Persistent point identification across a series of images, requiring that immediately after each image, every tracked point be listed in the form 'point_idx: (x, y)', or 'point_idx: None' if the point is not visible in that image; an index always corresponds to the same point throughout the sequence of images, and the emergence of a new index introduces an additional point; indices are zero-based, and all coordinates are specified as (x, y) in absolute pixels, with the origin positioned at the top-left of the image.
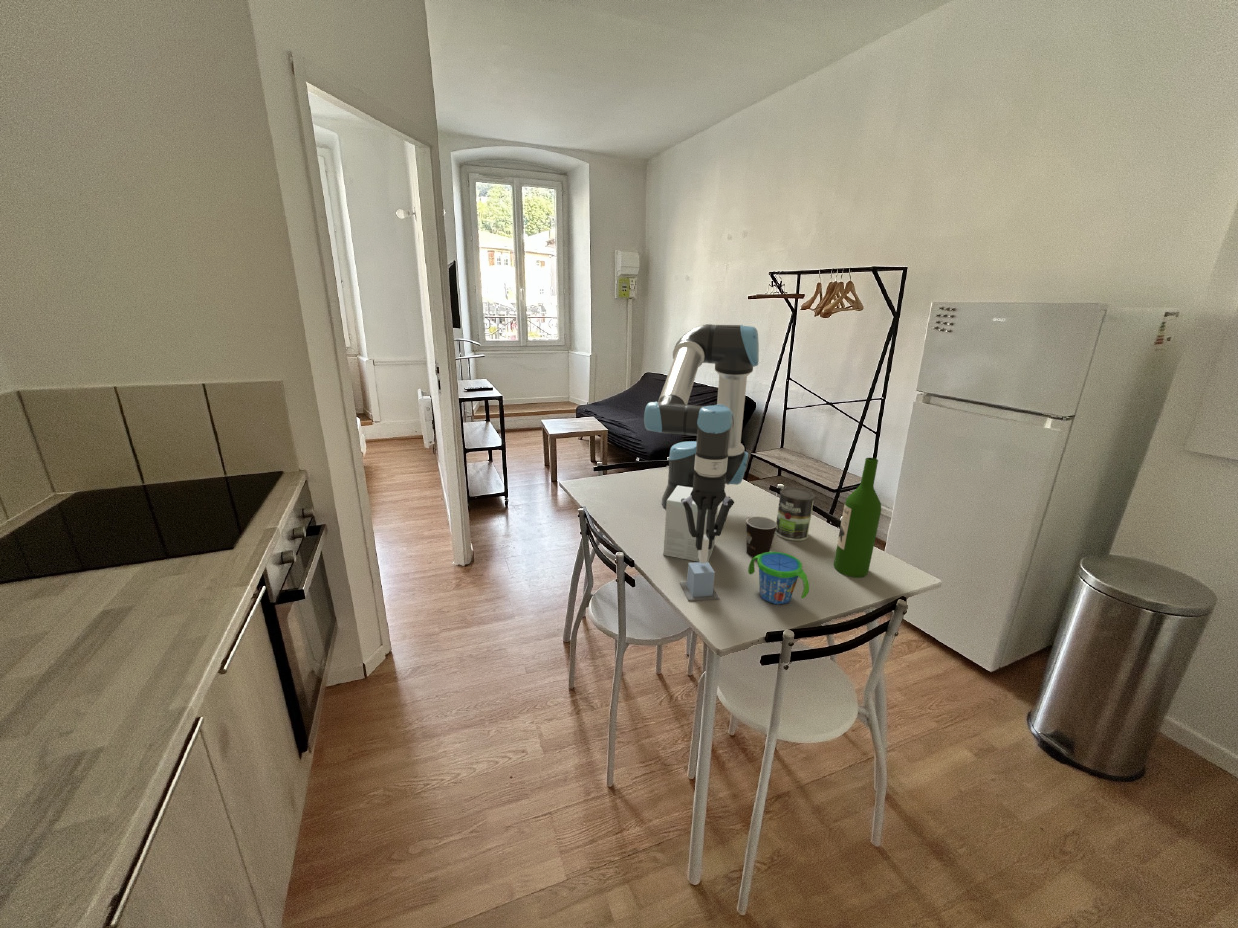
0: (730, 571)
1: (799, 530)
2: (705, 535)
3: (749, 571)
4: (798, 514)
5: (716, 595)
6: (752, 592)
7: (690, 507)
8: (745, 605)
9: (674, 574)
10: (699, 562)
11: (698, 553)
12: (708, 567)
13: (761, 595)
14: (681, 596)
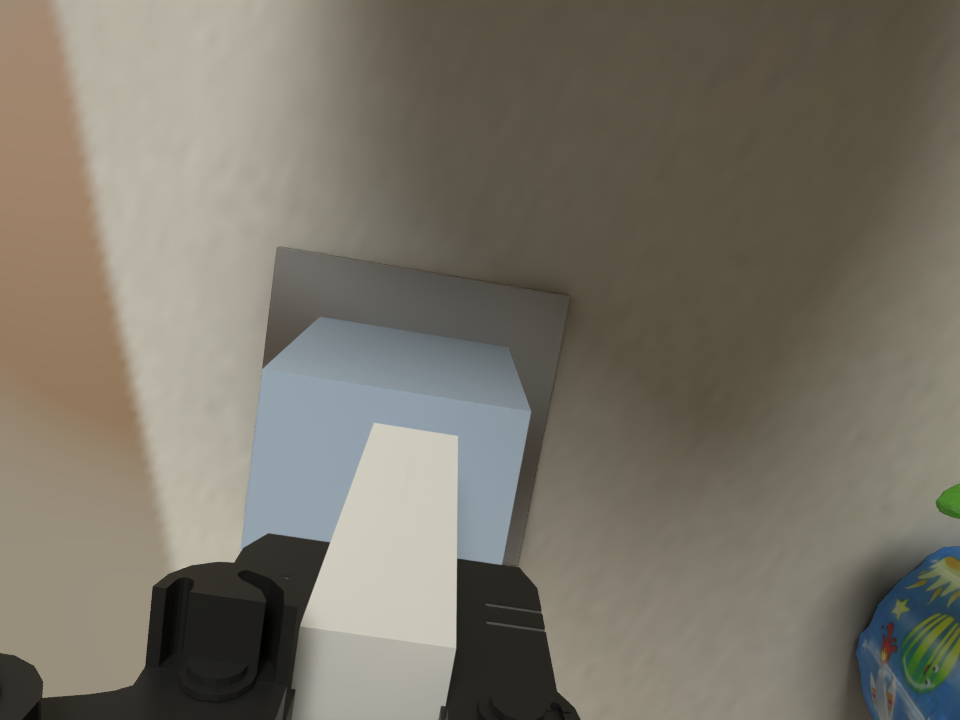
0: (873, 178)
1: None
2: (427, 691)
3: (953, 514)
4: None
5: (510, 529)
6: (839, 543)
7: None
8: (671, 680)
9: (294, 67)
10: (412, 397)
11: (365, 451)
12: (466, 537)
13: (863, 648)
14: (216, 440)
